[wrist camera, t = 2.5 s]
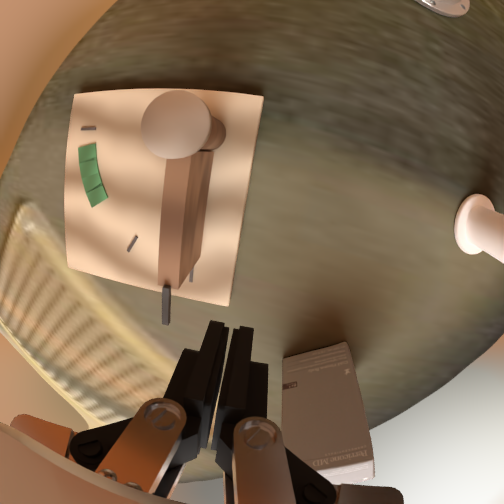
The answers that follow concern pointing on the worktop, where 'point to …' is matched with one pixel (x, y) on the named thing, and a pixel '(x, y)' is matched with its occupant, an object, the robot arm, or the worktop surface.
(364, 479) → the skincare box
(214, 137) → the peg
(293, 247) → the worktop surface
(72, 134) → the tuner plate
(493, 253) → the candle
